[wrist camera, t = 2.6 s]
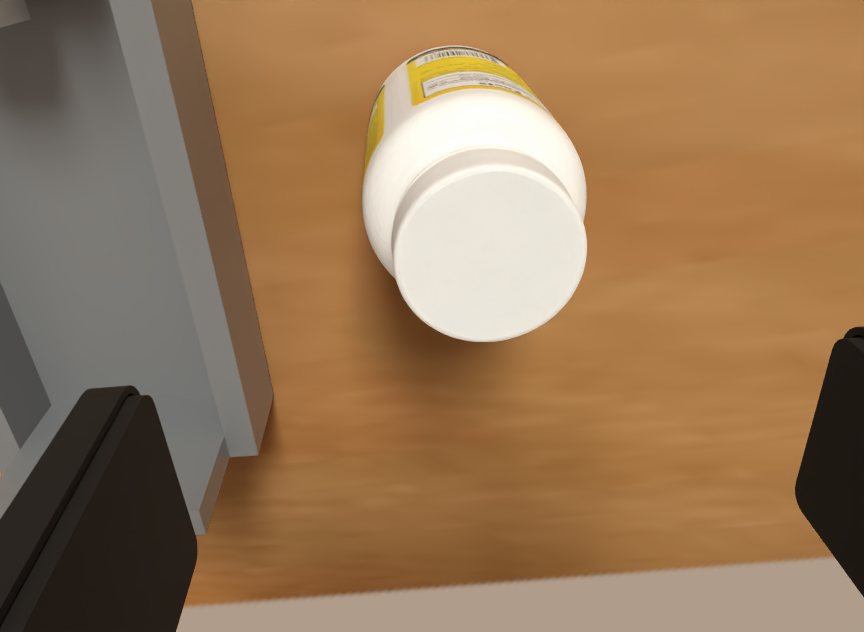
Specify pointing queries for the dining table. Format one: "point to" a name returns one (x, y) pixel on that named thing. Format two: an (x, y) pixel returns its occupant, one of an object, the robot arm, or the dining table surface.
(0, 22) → the spring paddle
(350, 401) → the dining table surface
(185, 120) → the pusher lane
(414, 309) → the supplement bottle
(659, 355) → the dining table surface
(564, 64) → the dining table surface
